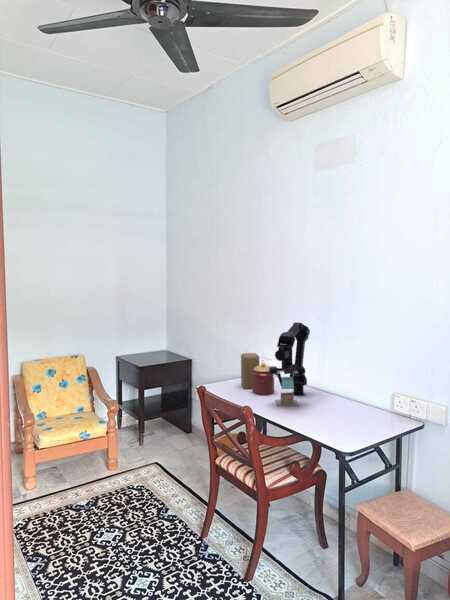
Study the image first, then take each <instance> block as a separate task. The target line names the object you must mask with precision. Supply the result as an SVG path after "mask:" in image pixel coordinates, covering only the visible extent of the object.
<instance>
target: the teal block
mask: <svg viewBox="0 0 450 600" xmlns="http://www.w3.org/2000/svg"><path fill="white" fill-rule="evenodd" d="M281 382H282V386H281V385H280V387H281V390H294V385H293V378H292V377H290V376H281Z"/></svg>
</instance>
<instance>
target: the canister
mask: <svg viewBox="0 0 450 600" xmlns="http://www.w3.org/2000/svg"><path fill="white" fill-rule="evenodd" d="M269 367H270V365H266V363H264V362H262V363H261V364H260V365H259V366H256V367H255V368H254V371H253V372H252V374H253V378H252V380H253V388H251V390H252V393H253V394H254V395H257V396H270V395H273V394H274V393H275V378H274V375H275V374H270V372H269Z"/></svg>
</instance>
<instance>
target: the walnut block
mask: <svg viewBox="0 0 450 600" xmlns="http://www.w3.org/2000/svg"><path fill="white" fill-rule="evenodd" d="M292 392H293V391H291V392H280V400H281V403H282V405H293V400H294V395H293V393H292Z"/></svg>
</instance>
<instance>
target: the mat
mask: <svg viewBox="0 0 450 600" xmlns="http://www.w3.org/2000/svg"><path fill="white" fill-rule="evenodd" d="M274 403H275V405H276V407H277V408H300V407H301V406H300V404H299V402H298V400H297V399H293V405H282V403H281V399H274Z"/></svg>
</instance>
